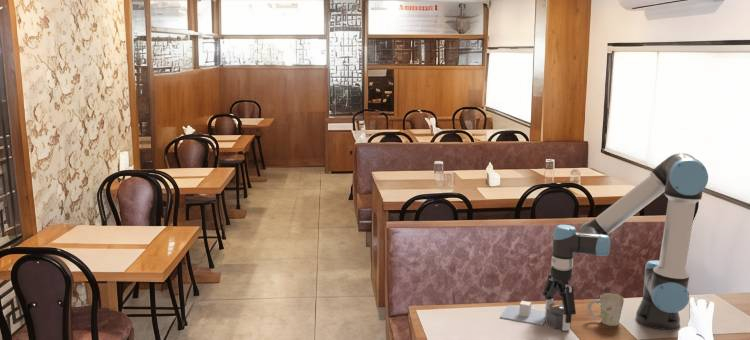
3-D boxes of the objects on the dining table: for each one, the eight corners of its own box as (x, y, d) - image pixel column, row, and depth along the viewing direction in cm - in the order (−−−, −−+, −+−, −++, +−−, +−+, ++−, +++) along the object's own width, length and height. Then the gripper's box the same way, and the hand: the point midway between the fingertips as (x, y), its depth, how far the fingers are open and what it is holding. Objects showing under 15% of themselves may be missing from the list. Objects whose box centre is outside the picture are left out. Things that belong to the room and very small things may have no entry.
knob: (561, 319, 248) (563, 301, 246) (572, 327, 241) (573, 308, 240) (544, 321, 246) (545, 302, 245) (554, 329, 239) (555, 310, 238)
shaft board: (549, 313, 254) (550, 300, 253) (542, 325, 242) (543, 312, 241) (508, 305, 261) (508, 293, 260) (499, 317, 249) (500, 305, 248)
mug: (623, 328, 241) (625, 302, 239) (587, 325, 243) (589, 299, 241) (620, 319, 249) (622, 294, 247) (585, 316, 251) (587, 291, 249)
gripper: (536, 257, 250) (532, 310, 254) (570, 279, 227) (565, 338, 232) (554, 255, 252) (549, 308, 256) (589, 278, 229) (584, 336, 233)
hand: (557, 322), depth 244 cm, fingers open, 12 cm apart
